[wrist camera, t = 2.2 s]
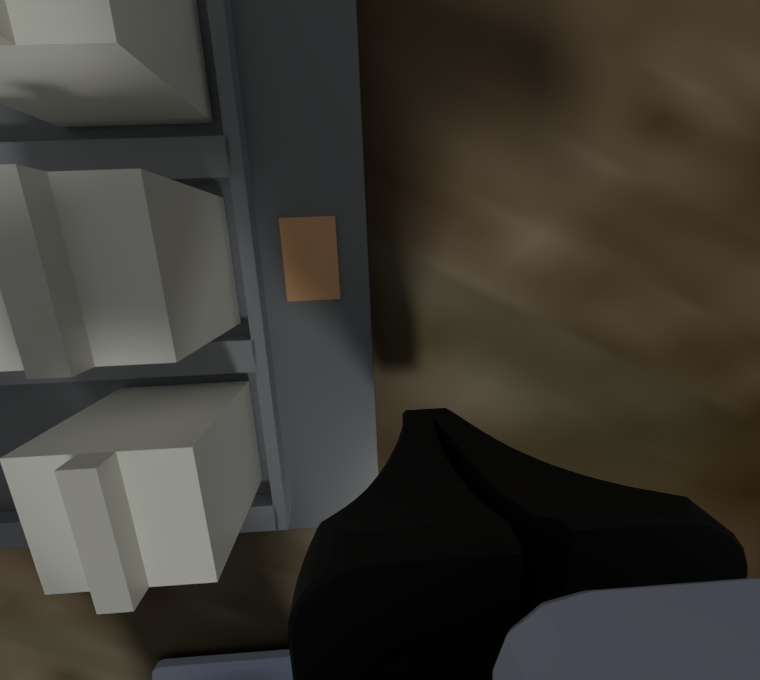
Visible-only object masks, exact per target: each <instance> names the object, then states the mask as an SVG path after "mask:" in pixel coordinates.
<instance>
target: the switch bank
mask: <svg viewBox="0 0 760 680" xmlns="http://www.w3.org/2000/svg"><path fill="white" fill-rule="evenodd" d="M197 7H198V15H199V22H200V29H201V36H202V44H203V51H204V58H205V66H206V73H207V80H208V87H209V95H210V102H211V109H212V117H213V123H197V124H162V125H128V126H93V127H59V126H56V125H53V124H51V123H48V122H46V121H43V120H41V119H38V118H36V117H33V116H31V115H28V114H26V113H23V112H21V111H18V110H16V109H13V108H11V107H8V106H6V105H3V104H1V103H0V165H3V164H17V165H22V166H26V167H30V168H34V169H38V170H42V171H47V172H50V171H81V170H111V169H143V170H146V171H149V172H152V173H154V174H157V175H160V176H163V177H166V178H169V179H171V180H174V181H177V182H180V183H183V184H186V185H188V186H191V187H194V188H197V189H200V190H203V191H205V192H208V193H211V194H214V195H217V196H220V197H222V198H224V204H225V211H226V219H227V226H228V233H229V240H230V248H231V255H232V262H233V270H234V277H235V284H236V291H237V299H238V306H239V313H240V321H241V323H240V324H238V325H236V326H235V327H233V328H231V329H230V330H228V331H227V332H225V333H223V334H222V335H220V336H219V337H217V338H215V339H214V340H212V341H211V342H209V343H207V344H206V345H204V346H203V347H201V348H199V349H198V350H196V351H194V352H193V353H191V354H190V355H188V356H186V357H185V358H183V359H182V360H180V361H178V362H177V363H159V364H139V365H120V366H100V367H93V368H91V369H89V370H87V371H84V372H82V373H80V374H78V375H76V376H73V377H65V378H46V379H27V378H26V374H25V371H24V370H22V371H3V372H0V458H1V457H3V456H4V455H6V454H8V453H10V452H11V451H13V450H15V449H16V448H18V447H20V446H22V445H23V444H25V443H27V442H29V441H30V440H32V439H34V438H35V437H37V436H39V435H41V434H42V433H44V432H46V431H47V430H49V429H51V428H53V427H54V426H56V425H58V424H59V423H61V422H63V421H65V420H66V419H68V418H70V417H71V416H73V415H75V414H77V413H78V412H80V411H82V410H83V409H85V408H87V407H89V406H90V405H92V404H94V403H96V402H97V401H99V400H101V399H102V398H104V397H106V396H108V395H109V394H111V393H113V392H114V391H116V390H118V389H120V388H124V387H143V386H162V385H181V384H199V383H218V382H237V381H249V386H250V393H251V401H252V408H253V415H254V423H255V430H256V437H257V444H258V452H259V459H260V466H261V474H262V481H261V483H260V485H259V488H258V490H257V492H256V495H255V497H254V499H253V502H252V504H251V506H250V509H249V511H248V513H247V516H246V518H245V520H244V522H243V525H242V527H241V529H240V532H239V533H248V532H262V531H277V530H288V529H299V528H314V527H318V526H319V524H320V523H321V522H322V521H324V520H325V519H327V518H329V517H330V516H332V515H333V514H335V513H337V512H338V511H340V510H341V509H343V508H344V507H346V506H347V505H348V504H350V503H351V502H352V501H354V500H355V499H356V498H357V497H358V496H359V495H360V494H362V493H363V492H364V491H365V490H366V489H367V488H368V487H369V485H370V484H371V483H372V482H373V481H374V479H375V478H376V477H377V476H378V459H377V437H376V416H375V395H374V373H373V352H372V331H371V309H370V288H369V267H368V245H367V224H366V203H365V181H364V160H363V139H362V117H361V96H360V75H359V53H358V32H357V11H356V0H197ZM26 547H29V546H28V543H27V540H26V537H25V534H24V531H23V528H22V525H21V522H20V519H19V516H18V513H17V510H16V507H15V504H14V501H13V498H12V495H11V492H10V489H9V486H8V483H7V480H6V477H5V474H4V472H3V469H2V466H1V463H0V549H11V548H26Z"/></svg>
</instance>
